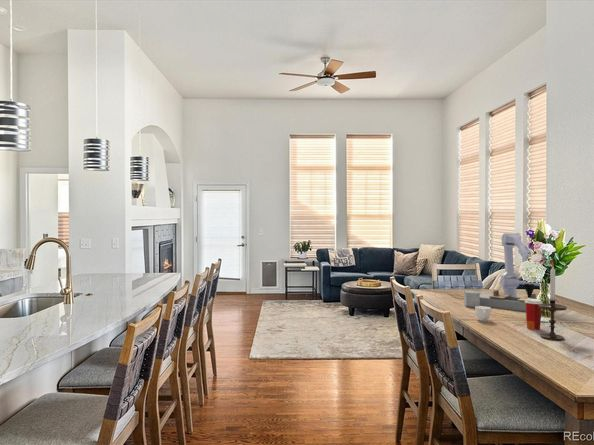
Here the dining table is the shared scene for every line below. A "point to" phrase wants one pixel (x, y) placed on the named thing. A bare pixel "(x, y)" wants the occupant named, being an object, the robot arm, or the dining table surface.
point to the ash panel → (527, 298)
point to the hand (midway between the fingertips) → (529, 297)
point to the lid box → (502, 302)
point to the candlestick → (552, 309)
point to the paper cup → (533, 313)
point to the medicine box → (472, 299)
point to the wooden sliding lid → (499, 295)
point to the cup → (483, 313)
